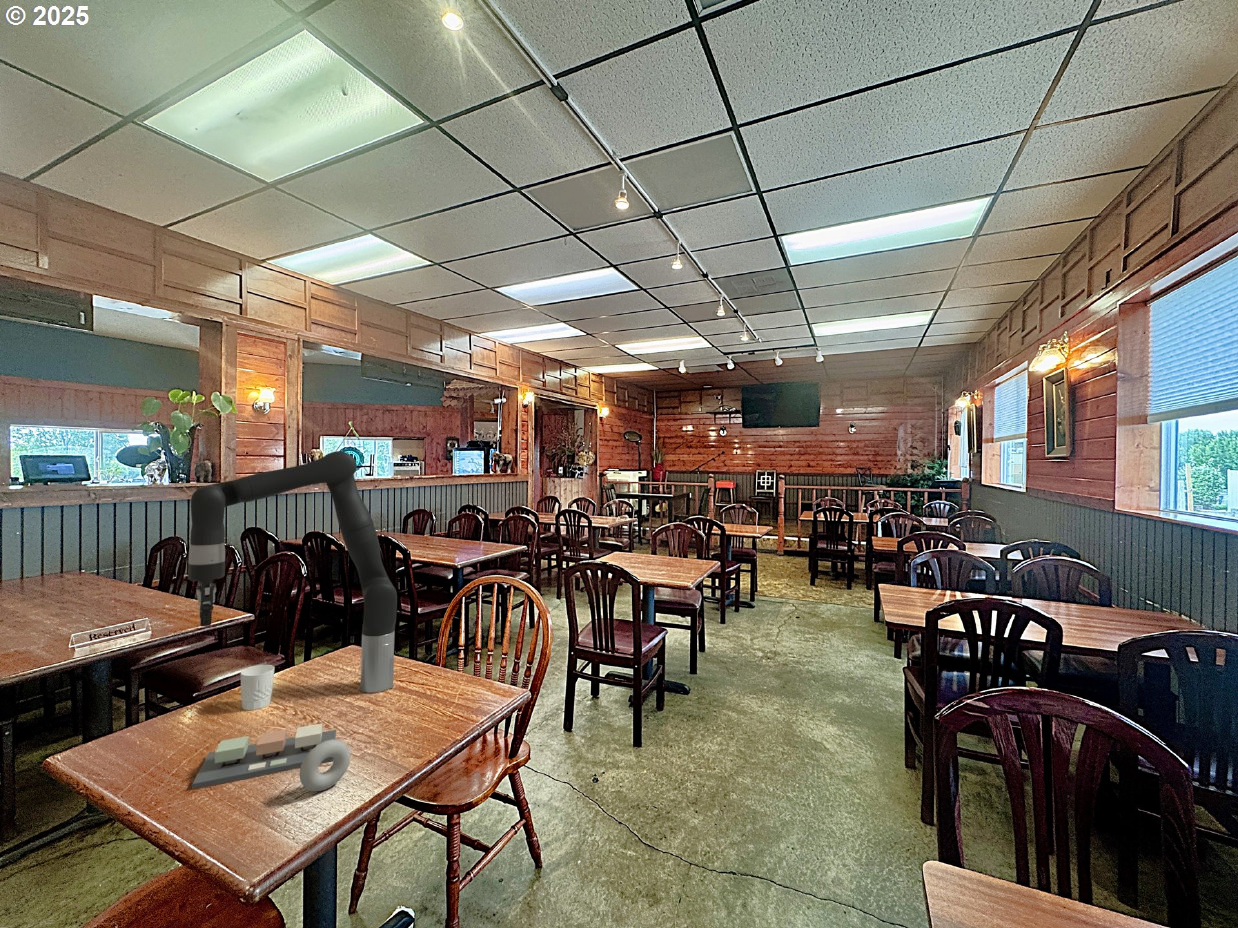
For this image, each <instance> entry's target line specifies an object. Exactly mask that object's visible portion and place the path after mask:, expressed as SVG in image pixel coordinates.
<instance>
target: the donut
mask: <svg viewBox="0 0 1238 928" xmlns="http://www.w3.org/2000/svg"><path fill="white" fill-rule="evenodd" d="M310 750H311V751H310V752H309V753H308V755H307V756H306V757H305V759H304V761H303V763H302V765H301V768H299V769H300V771H299V781H300V783H301V785H302V786H303V788H305V789H307V790H309V791H310V792H321V791H324V790H327V789H329V788H331V787H333V786H334V785H336V784H337V783H338V782H339V781H340V780H341V779H342V778H343V776H344V775H345V774H346V772H347V771H348V768H349V765H350V763H351V757H352V756H351V751H350V750H351V749H350V748H349V746H348V744H347V743H346V742H344V741H343V740H340V739H335V740H334V739H333V740H328V741H324V742H323V743H321V744H319V745H317V746H316V747H315V748H311V749H310ZM328 757H332V758H333V761H332V764H331V766H330V767H329V768H328V769H327V770H325V771H324V772H319V767H320V765H321V764H322V763H321V762H322V761H323V760H324V759H326V758H328ZM320 763H321V764H320Z"/></svg>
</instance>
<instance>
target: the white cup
mask: <svg viewBox="0 0 1238 928" xmlns="http://www.w3.org/2000/svg"><path fill="white" fill-rule="evenodd" d="M275 669H276V667H275V666H274V665H271V664H260V665H259V664H258V665H253V666H250V667H246V668H245V669H243V670H241V671H240V694H241V695H240V697H241V708H242V710H244V711H256V710H260V709H263V708H265V707H267V706H269V705H270V704H271V702H272V694H273V690H274V689H273V686H274V675H275Z"/></svg>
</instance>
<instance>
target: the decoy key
mask: <svg viewBox="0 0 1238 928" xmlns="http://www.w3.org/2000/svg"><path fill="white" fill-rule="evenodd" d="M287 731H288V730H287V729H281V730H275V731H270V732H265V733H260V735H259V737H258V739H257V741H256V742H257V743H256V744H257V745H256V756H257V755H262V754H265V757H264V758H267V757H266V756H268V757H272V756H271V755H274V756H277V755H276V753H277V752H278V751H283V749H284V746H285V742H286V739H287V734H288V733H287Z"/></svg>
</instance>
